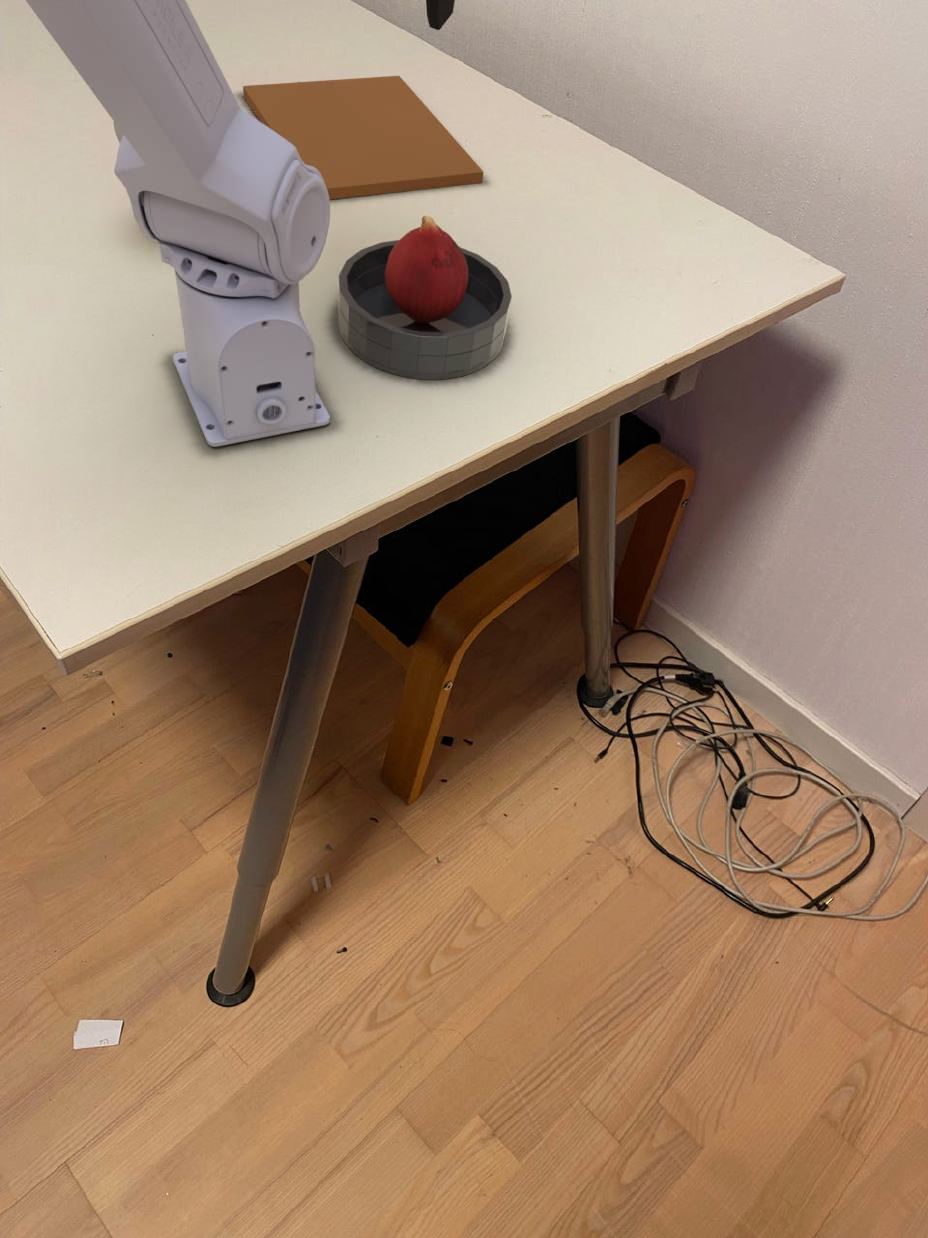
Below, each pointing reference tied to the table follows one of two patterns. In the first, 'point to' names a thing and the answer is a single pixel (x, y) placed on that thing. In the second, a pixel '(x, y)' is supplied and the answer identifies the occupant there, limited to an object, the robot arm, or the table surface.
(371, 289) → the pan
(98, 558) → the table surface
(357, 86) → the mat
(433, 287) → the onion
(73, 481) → the table surface
